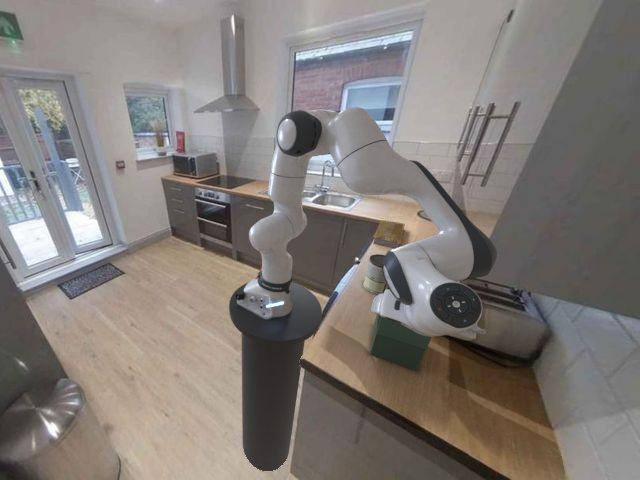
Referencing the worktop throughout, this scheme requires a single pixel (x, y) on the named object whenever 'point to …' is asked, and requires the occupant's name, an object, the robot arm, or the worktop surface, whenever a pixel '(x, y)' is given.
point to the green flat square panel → (402, 333)
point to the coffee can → (375, 275)
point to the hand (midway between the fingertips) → (412, 320)
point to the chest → (395, 349)
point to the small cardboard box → (392, 228)
